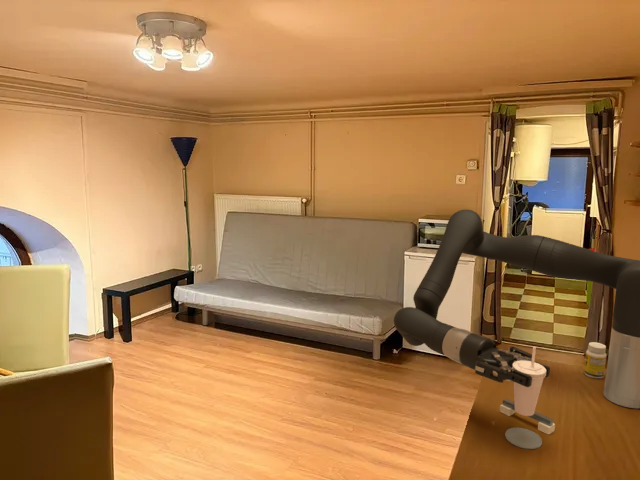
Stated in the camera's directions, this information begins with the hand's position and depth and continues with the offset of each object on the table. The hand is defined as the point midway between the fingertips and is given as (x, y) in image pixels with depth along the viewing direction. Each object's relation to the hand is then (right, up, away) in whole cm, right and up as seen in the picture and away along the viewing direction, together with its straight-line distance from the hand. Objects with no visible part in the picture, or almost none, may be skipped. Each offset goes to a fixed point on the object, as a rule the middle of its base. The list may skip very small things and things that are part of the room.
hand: (539, 377), depth 97 cm
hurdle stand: (+2, -13, +11) cm, 17 cm away
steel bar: (+2, -11, +11) cm, 16 cm away
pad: (-1, -14, +4) cm, 15 cm away
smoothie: (-2, -8, +4) cm, 9 cm away
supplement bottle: (+29, -9, +34) cm, 45 cm away
